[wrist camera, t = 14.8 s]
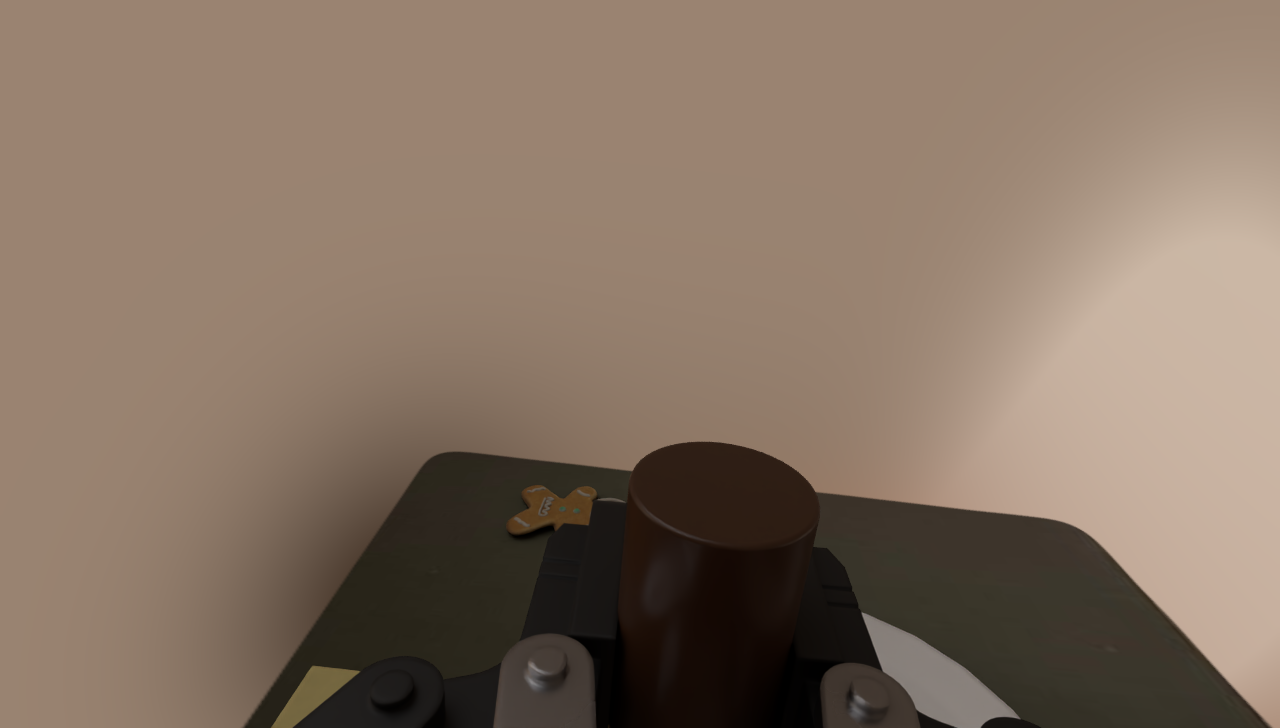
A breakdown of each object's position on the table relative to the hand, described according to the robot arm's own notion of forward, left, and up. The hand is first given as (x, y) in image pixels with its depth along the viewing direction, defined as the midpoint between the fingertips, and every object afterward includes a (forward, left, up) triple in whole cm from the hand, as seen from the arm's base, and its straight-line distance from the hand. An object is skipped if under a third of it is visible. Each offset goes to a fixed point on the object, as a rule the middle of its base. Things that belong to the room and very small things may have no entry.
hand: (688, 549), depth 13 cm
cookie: (+12, +32, -24) cm, 42 cm away
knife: (-1, -3, -12) cm, 12 cm away
